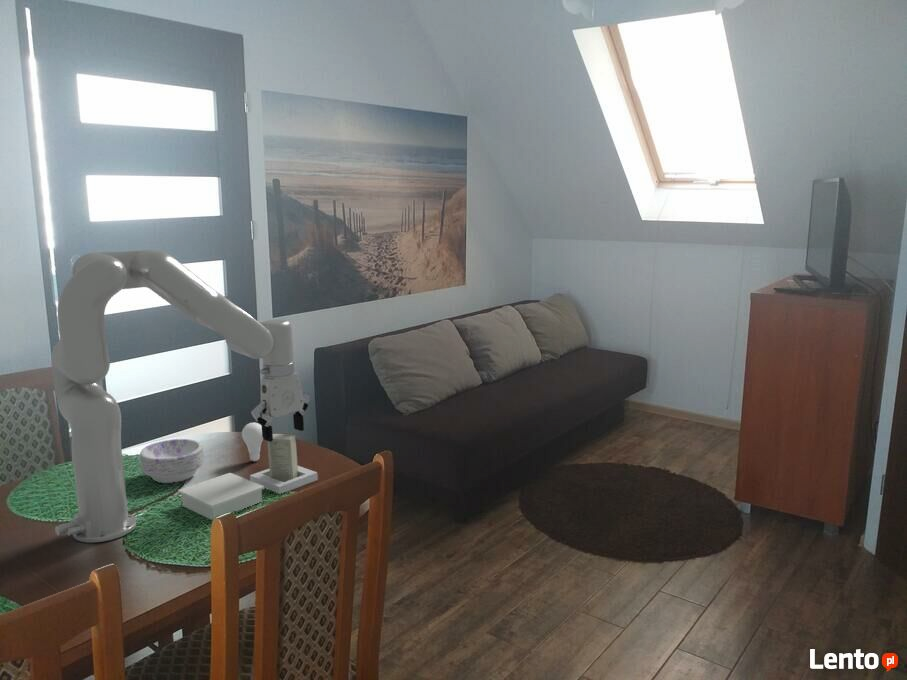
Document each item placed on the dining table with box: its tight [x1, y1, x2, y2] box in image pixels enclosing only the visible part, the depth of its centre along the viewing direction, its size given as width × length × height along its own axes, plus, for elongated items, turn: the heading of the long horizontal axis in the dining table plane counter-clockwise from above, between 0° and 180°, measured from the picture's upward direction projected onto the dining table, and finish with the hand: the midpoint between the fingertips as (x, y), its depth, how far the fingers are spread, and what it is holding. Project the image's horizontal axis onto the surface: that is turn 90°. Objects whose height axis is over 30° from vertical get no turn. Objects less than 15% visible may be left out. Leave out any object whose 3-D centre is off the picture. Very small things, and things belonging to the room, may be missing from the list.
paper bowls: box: [139, 438, 205, 484], centre depth 187 cm, size 15×15×8 cm
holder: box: [249, 465, 319, 495], centre depth 184 cm, size 12×12×2 cm
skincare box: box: [266, 433, 299, 482], centre depth 183 cm, size 6×4×12 cm
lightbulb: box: [241, 422, 264, 462], centre depth 197 cm, size 6×6×11 cm
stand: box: [177, 472, 265, 521], centre depth 170 cm, size 14×14×4 cm
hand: (283, 434), depth 182 cm, fingers open, 9 cm apart
